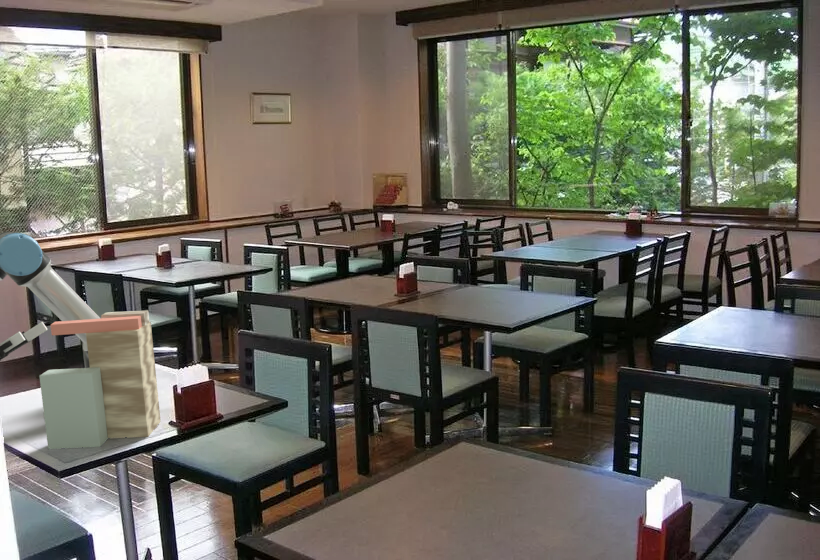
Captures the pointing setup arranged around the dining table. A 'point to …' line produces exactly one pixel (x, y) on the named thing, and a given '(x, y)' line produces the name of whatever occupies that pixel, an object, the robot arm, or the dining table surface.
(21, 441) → the dining table surface
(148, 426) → the tall wood-grain block
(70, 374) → the block
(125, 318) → the stub
